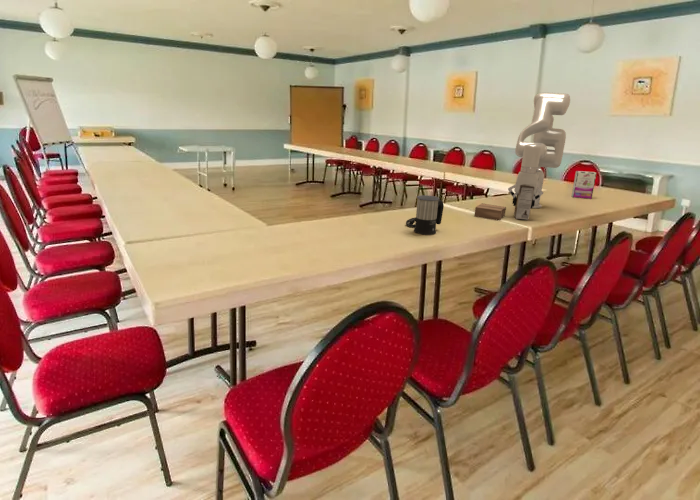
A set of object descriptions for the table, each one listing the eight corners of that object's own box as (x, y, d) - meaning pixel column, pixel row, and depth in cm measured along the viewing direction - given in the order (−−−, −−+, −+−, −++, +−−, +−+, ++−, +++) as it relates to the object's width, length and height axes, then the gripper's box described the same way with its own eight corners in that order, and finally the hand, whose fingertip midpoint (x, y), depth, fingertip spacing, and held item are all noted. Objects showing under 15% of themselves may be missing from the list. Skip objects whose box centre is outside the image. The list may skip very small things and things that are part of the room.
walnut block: (480, 212, 241) (482, 203, 240) (504, 216, 235) (506, 207, 234) (474, 217, 231) (475, 207, 229) (498, 221, 225) (500, 211, 224)
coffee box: (513, 214, 238) (518, 182, 233) (526, 215, 237) (532, 183, 231) (515, 218, 229) (520, 185, 224) (529, 220, 228) (535, 187, 223)
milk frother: (430, 236, 192) (434, 200, 187) (395, 229, 199) (398, 194, 195) (443, 229, 203) (447, 195, 199) (410, 223, 211) (413, 190, 206)
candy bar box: (589, 197, 300) (594, 171, 295) (591, 199, 295) (597, 173, 290) (570, 196, 302) (575, 170, 297) (572, 197, 297) (578, 171, 292)
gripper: (549, 171, 225) (542, 207, 231) (511, 167, 232) (505, 202, 238) (547, 173, 219) (540, 210, 224) (508, 169, 226) (503, 205, 232)
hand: (522, 206), depth 231 cm, fingers closed on coffee box, 7 cm apart
